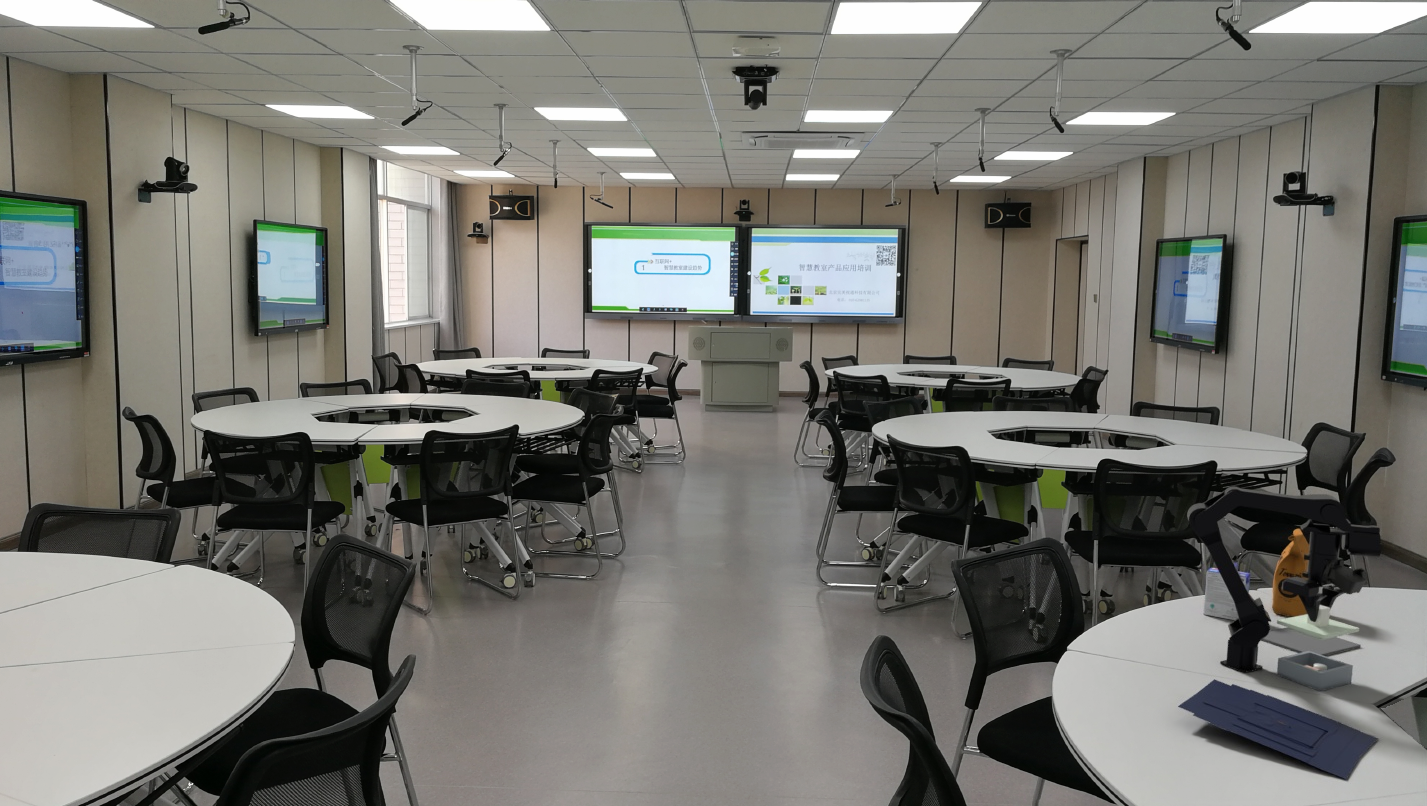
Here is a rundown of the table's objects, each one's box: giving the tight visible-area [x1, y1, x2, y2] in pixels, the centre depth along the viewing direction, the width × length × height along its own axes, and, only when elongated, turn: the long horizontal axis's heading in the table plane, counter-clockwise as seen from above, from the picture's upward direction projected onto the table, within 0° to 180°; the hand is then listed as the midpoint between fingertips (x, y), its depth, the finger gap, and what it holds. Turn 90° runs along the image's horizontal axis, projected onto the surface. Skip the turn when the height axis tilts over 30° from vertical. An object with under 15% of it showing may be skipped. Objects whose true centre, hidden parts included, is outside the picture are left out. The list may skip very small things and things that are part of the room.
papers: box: [1177, 679, 1379, 780], centre depth 198 cm, size 24×30×4 cm
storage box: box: [1276, 651, 1354, 692], centre depth 226 cm, size 11×10×4 cm
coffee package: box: [1271, 528, 1310, 618], centre depth 273 cm, size 10×12×22 cm
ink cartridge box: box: [1203, 562, 1251, 621], centre depth 269 cm, size 10×6×14 cm, turn 53°
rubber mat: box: [1260, 627, 1362, 657], centre depth 251 cm, size 18×16×1 cm
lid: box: [1276, 605, 1360, 640], centre depth 226 cm, size 12×11×6 cm
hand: (1317, 620), depth 227 cm, fingers closed on lid, 3 cm apart
